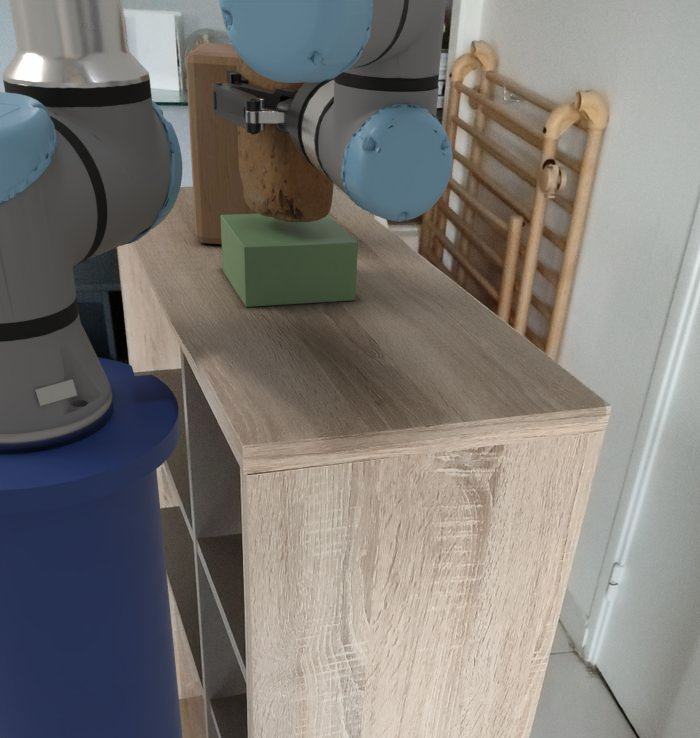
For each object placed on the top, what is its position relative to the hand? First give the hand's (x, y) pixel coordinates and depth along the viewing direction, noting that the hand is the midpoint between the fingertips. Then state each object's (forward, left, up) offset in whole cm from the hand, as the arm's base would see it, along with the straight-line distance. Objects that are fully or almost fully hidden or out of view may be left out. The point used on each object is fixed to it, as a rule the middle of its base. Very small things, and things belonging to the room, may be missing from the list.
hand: (276, 86), depth 91 cm
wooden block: (-1, +14, -19) cm, 24 cm away
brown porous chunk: (0, -5, -11) cm, 12 cm away
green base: (0, -5, -18) cm, 19 cm away
